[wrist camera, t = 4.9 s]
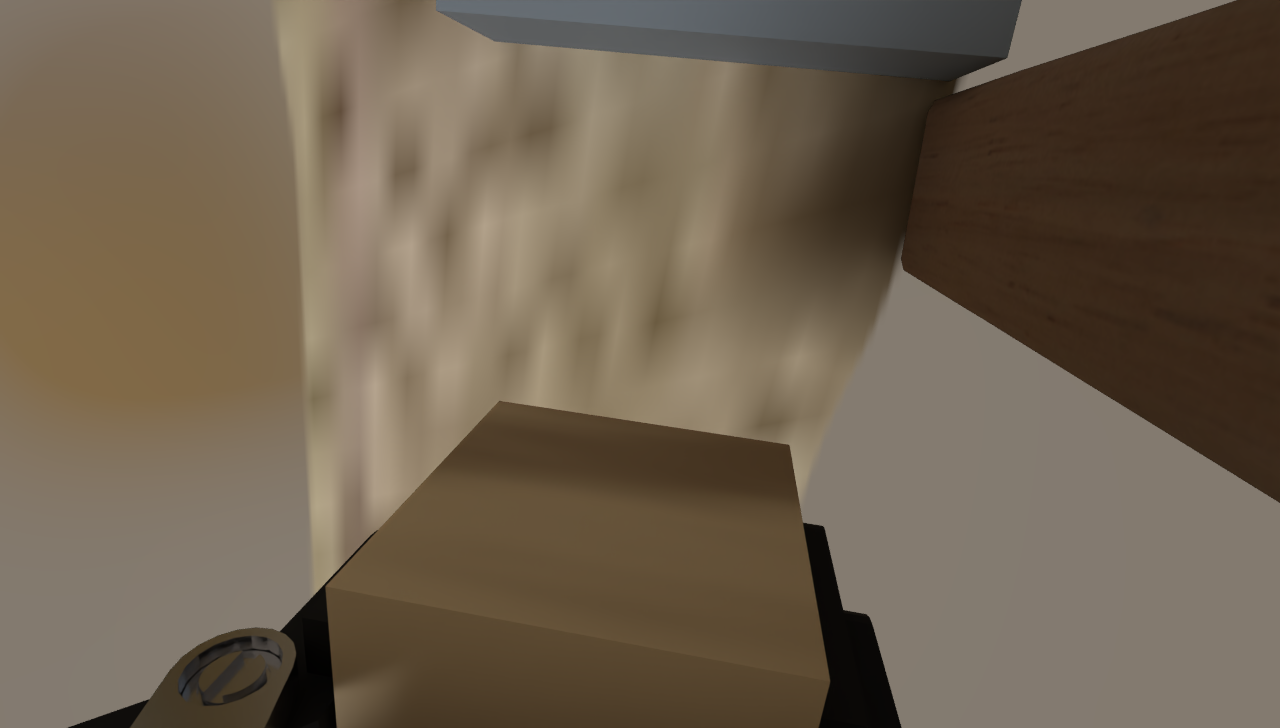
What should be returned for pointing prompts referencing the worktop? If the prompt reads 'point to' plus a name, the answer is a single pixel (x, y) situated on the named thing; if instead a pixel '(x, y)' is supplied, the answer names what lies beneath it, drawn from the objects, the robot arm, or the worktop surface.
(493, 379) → the worktop surface
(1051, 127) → the wooden block
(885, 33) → the slate base block
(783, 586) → the oak cube
